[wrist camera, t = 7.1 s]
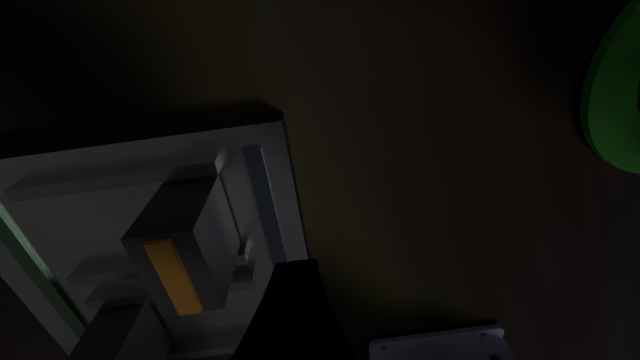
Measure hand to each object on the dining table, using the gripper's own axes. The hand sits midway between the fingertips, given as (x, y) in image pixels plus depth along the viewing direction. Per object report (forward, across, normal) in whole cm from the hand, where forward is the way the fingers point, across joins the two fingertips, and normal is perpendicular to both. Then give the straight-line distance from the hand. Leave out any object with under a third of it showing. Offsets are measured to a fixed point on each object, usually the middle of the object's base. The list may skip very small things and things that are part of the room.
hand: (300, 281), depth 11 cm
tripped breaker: (+5, +5, 0) cm, 7 cm away
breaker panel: (+6, +8, +7) cm, 13 cm away
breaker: (+5, +11, +7) cm, 14 cm away
